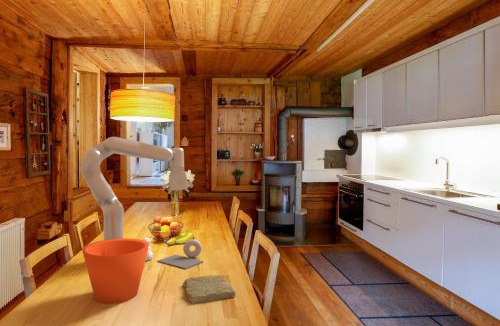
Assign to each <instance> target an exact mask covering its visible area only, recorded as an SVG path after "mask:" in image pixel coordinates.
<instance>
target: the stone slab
mask: <svg viewBox="0 0 500 326" xmlns="http://www.w3.org/2000/svg"><path fill="white" fill-rule="evenodd" d="M182 286H183V288H185V290H186V291H185V292H186V293H185V295H186V298H187V299H189V302H190V303H191V304H192V305H193V304H200V303H206V302H207V303H209V302H213V300H214V301H221V300H225V299H224V298H227V299H229V298H228V297H233V296H235V297H236V290H235V289H234V287H232V286H231V284H230V283H229V282H228V281H227V280H226V278H223V276H221V275H220V274H218V275H216V274H215V275H214V274H213V275H211V274H210V275H203V276H196V277H189V278H185V280H184V282H183V283H182ZM233 298H234V297H233ZM220 299H221V300H220Z"/></svg>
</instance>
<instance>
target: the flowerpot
mask: <svg viewBox="0 0 500 326" xmlns="http://www.w3.org/2000/svg"><path fill="white" fill-rule="evenodd" d="M149 246H150V244H149V243H148V242H146V241H144V240H143V239H139V238H128V237H127V238H126V237H125V238H124V237H123V238H121V239H109V240H104V239H103V240H98V241H94V242H91V243H89V244H87V245H85V246H83V247H82V249H81V251H82V254H83V258H84V262H85V267H86V271H87V274H88V277H89V282H90V284H91V289H92V292H93V296H94V297H93V298H94V300H95V302H97V303H100V304H107V305H109V304H114V305H115V304H119V303H124V302H128V301H131V300H132V299H134V298H135V297H136V296H138V293H139V292H138V291H139V289H140V285H141V280H142V275H143V271H144V268H145V263H146V261H145V260H146V255H147V251H148V247H149Z"/></svg>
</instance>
